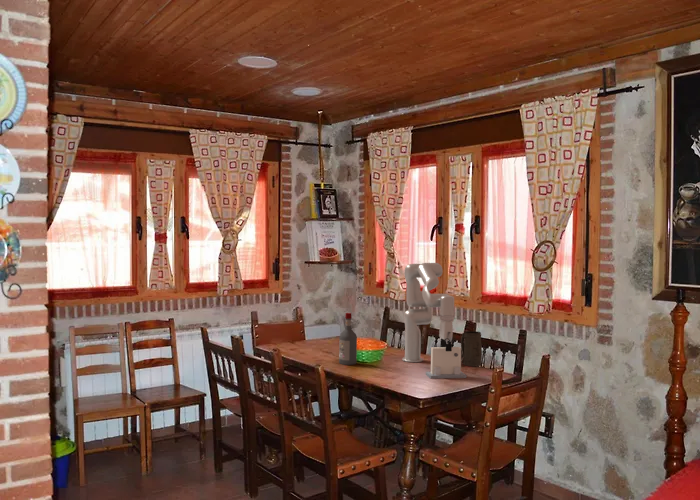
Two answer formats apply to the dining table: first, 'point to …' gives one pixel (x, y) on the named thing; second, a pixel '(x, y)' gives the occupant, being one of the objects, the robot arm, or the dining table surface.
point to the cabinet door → (445, 359)
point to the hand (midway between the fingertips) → (445, 349)
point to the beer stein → (471, 348)
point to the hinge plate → (438, 375)
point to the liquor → (348, 344)
